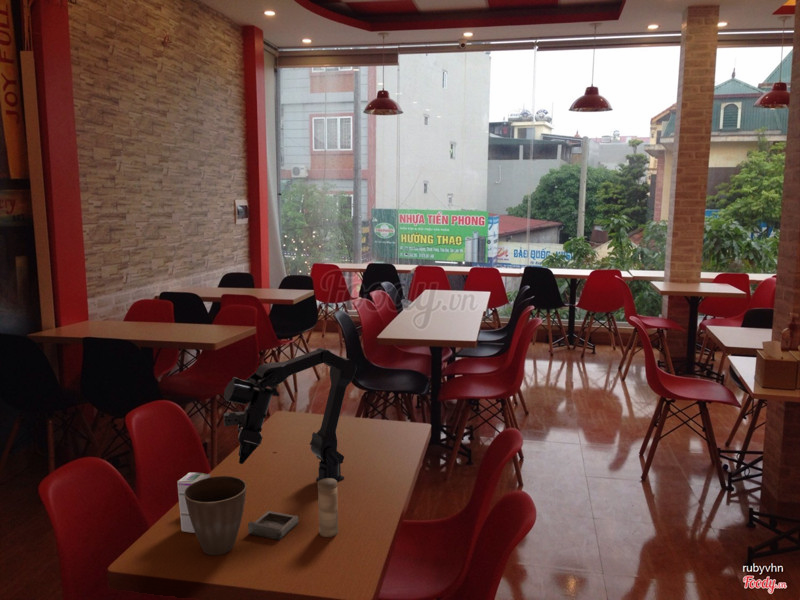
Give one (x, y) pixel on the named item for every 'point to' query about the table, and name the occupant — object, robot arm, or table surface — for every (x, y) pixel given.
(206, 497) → the plant pot
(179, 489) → the syrup box
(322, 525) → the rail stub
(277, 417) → the table surface
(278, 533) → the grey tray
